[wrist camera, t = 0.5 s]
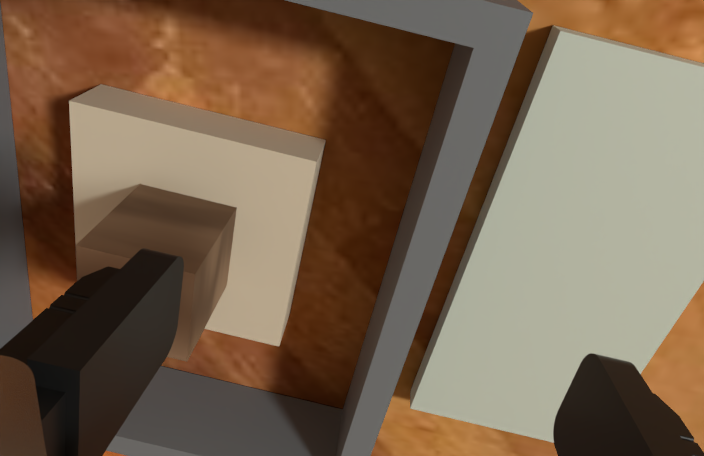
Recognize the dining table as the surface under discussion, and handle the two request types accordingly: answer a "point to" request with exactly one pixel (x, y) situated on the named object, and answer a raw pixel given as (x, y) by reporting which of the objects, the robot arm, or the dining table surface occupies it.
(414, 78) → the dining table surface
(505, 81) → the access box
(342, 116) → the dining table surface
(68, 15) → the dining table surface
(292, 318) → the dining table surface
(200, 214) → the walnut block
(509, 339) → the board
